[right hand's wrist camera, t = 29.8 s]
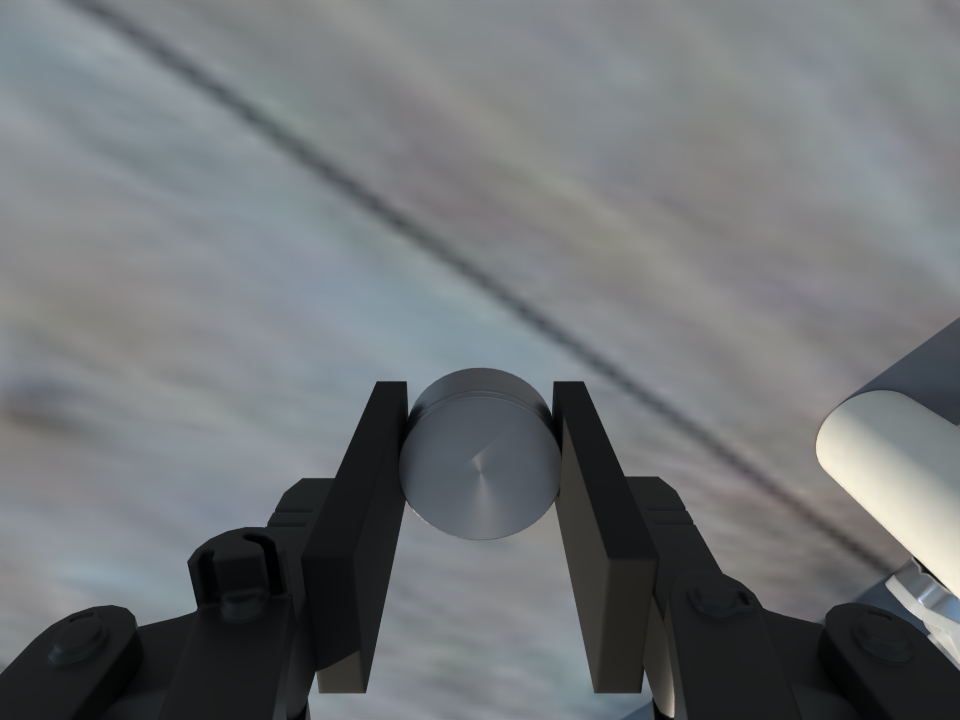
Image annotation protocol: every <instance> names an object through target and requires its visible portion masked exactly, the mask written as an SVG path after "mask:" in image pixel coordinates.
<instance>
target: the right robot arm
mask: <svg viewBox="0 0 960 720" xmlns="http://www.w3.org/2000/svg"><path fill="white" fill-rule="evenodd" d="M552 419H553V422H554V426H555V430H556V434H557V437H558V441H559V445H560V449H561V453H562V467H561V484H560V490H559V492H558V494H557V496H556V498H555V505H556V510H557V515H558V520H559V525H560V529H561V534H562V539H563V544H564V549H565V553H566V558H567V563H568V568H569V573H570V578H571V582H572V587H573V592H574V597H575V602H576V606H577V611H578V616H579V621H580V626H581V631H582V635H583V640H584V645H585V650H586V655H587V659H588V664H589V669H590V674H591V679H592V684H593V688H594V693H641V690H642V683H643V676H644V668H645V672H646V675H647V678H648V681H649V684H650V688H651V691H652V694H653V697H652V704H651V711H650V717H649V720H960V670H959V669H958V668H957V667H956V666H955V665H954V664H953V663H952V662H951V661H950V660H949V659H948V658H947V657H946V656H945V655H944V654H943V653H942V652H941V651H940V650H939V649H938V648H937V647H936V646H935V645H934V643H933V642H932V641H931V640H930V639H929V638H928V637H926V636H925V635H924V634H923V633H922V632H920V631H919V630H918V629H917V628H916V627H914V626H913V625H912V624H911V623H909V622H907V621H905V620H904V619H902V618H900V617H898V616H896V615H894V614H893V613H891V612H889V611H886V610H883V609H879V608H876V607H873V606H870V605H866V604H856V603H846V604H841V605H837V606H834V607H833V608H832V609H831V610H830V611H829V612H828V613H827V614H826V617H825V620H824V624H823V625H822V624H817V623H813V622H809V621H805V620H801V619H796V618H792V617H788V616H784V615H781V614H778V613H774V612H771V611H768V610H766V609H764V608H763V607H762V605H761V604H760V602H759V601H758V599H757V597H756V596H755V594H754V593H753V592H751V591H750V590H749V589H748V588H747V587H746V586H744V585H743V584H742V583H741V582H739V581H737V580H735V579H733V578H731V577H729V576H727V575H725V574H723V573H722V571H721V570H720V568H719V566H718V564H717V563H716V561H715V559H714V557H713V555H712V554H711V552H710V550H709V548H708V547H707V545H706V543H705V541H704V539H703V538H702V536H701V534H700V532H699V531H698V529H697V527H696V525H694V524H693V520H692V518H691V516H690V515H689V513H688V511H686V509H685V506H684V504H683V502H682V500H681V499H680V497H679V495H678V493H677V492H676V490H674V489H673V488H672V487H671V486H669V485H668V484H667V483H666V482H664V481H663V480H662V479H660V478H659V477H625V476H624V474H623V471H622V469H621V467H620V464H619V462H618V460H617V457H616V455H615V453H614V451H613V448H612V446H611V444H610V441H609V439H608V437H607V434H606V432H605V430H604V428H603V425H602V423H601V421H600V418H599V416H598V414H597V411H596V409H595V407H594V404H593V402H592V400H591V398H590V395H589V393H588V391H587V388H586V386H585V384H584V381H554V385H553V405H552ZM407 422H408V398H407V381H377V382H376V385H375V387H374V389H373V391H372V394H371V396H370V398H369V401H368V403H367V405H366V408H365V410H364V412H363V415H362V417H361V419H360V421H359V424H358V426H357V428H356V431H355V433H354V435H353V438H352V440H351V442H350V445H349V447H348V449H347V451H346V454H345V456H344V458H343V461H342V463H341V465H340V468H339V470H338V472H337V475H336V477H335V478H302V479H301V480H300V481H299V482H297V483H296V484H295V485H294V486H292V487H291V488H290V489H288V490H287V491H286V492H285V493H284V494H283V496H282V498H281V500H280V502H279V503H278V505H277V507H276V509H275V513H273V514H272V516H271V518H270V519H269V521H268V523H267V527H265V528H263V527H244V528H240V529H235V530H231V531H227V532H225V533H222V534H220V535H218V536H216V537H213V538H211V539H209V540H208V541H207V542H205V543H204V544H203V545H201V546H200V547H199V548H197V549H196V550H195V552H194V553H193V554H192V556H191V557H190V559H189V560H188V561H187V563H188V567H189V572H190V576H191V581H192V585H193V589H194V594H195V598H196V603H197V607H198V608H197V611H195V612H193V613H190V614H187V615H184V616H181V617H178V618H174V619H169V620H165V621H161V622H157V623H153V624H149V625H144V626H140V627H138V626H137V622H136V619H135V616H134V615H133V614H132V613H131V612H130V611H129V610H128V609H127V608H123V607H119V606H114V605H108V606H98V607H92V608H89V609H86V610H83V611H80V612H77V613H74V614H71V615H69V616H67V617H66V618H64V619H62V620H60V621H58V622H56V623H55V624H53V625H51V626H50V627H49V628H47V629H46V630H45V631H44V632H43V633H41V634H40V635H39V636H38V637H37V638H35V639H34V640H33V641H32V642H31V643H30V644H29V645H28V646H27V647H26V648H25V649H24V650H23V652H22V653H21V654H20V655H19V656H18V657H17V658H16V659H15V660H14V661H13V662H12V663H11V664H10V665H9V666H8V667H7V668H6V669H5V670H4V671H3V672H2V673H1V674H0V720H311V719H310V711H309V704H308V695H309V692H310V689H311V685H312V682H313V679H314V676H315V672H316V673H317V680H318V687H319V693H366V690H367V685H368V680H369V676H370V671H371V666H372V661H373V656H374V652H375V647H376V642H377V637H378V632H379V627H380V623H381V618H382V613H383V608H384V603H385V599H386V594H387V589H388V584H389V579H390V574H391V570H392V565H393V560H394V555H395V550H396V546H397V541H398V536H399V531H400V526H401V521H402V517H403V512H404V507H405V502H406V499H405V497H404V495H403V492H402V490H401V487H400V478H399V453H400V448H401V445H402V441H403V437H404V433H405V429H406V425H407Z"/></svg>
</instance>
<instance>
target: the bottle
mask: <svg viewBox="0 0 960 720" xmlns="http://www.w3.org/2000/svg"><path fill="white" fill-rule="evenodd" d="M816 452H817V457H818V460H819V462H820V464H821V466H822V467H823V468H824V470H825V471H826V472H827V473H828V474H830V475H831V476H832V477H833V478H834V479H835V480H836V481H837V482H838V483H839V484H840V485H841V486H842V487H843V488H844V489H845V490H846V491H847V492H848V493H849V494H850V495H851V496H852V497H853V498H854V499H856V500H857V501H858V502H859V503H860V504H861V505H862V506H863V507H864V508H865V509H866V510H867V511H868V512H869V513H870V514H871V515H872V516H873V517H874V518H875V519H876V520H877V521H878V522H879V523H881V524H882V525H883V526H884V527H885V528H886V529H887V530H888V531H889V532H890V533H891V534H892V535H893V536H894V537H895V538H896V539H897V540H898V541H899V542H900V543H901V544H902V545H903V546H904V547H906V548H907V549H908V550H909V551H910V552H911V553H912V554H913V555H914V556H915V557H916V558H917V559H918V560H919V561H920V562H921V563H922V564H923V565H924V566H925V567H926V568H927V569H928V570H929V571H930V572H932V573H933V574H934V575H935V576H936V577H937V578H938V579H939V580H940V581H941V582H942V583H943V584H944V585H945V586H946V587H947V588H948V589H949V590H950V591H951V592H952V593H953V594H954V595H955V596H957V597H958V598H959V599H960V428H959V427H957V426H956V425H954V424H952V423H951V422H949V421H947V420H946V419H944V418H942V417H941V416H939V415H937V414H936V413H934V412H933V411H931V410H929V409H928V408H926V407H924V406H923V405H921V404H919V403H918V402H916V401H914V400H913V399H911V398H909V397H908V396H906V395H904V394H901V393H899V392H895V391H888V390H877V391H870V392H866V393H862V394H859V395H857V396H854V397H852V398H851V399H849V400H847V401H845V402H844V403H842V404H841V405H840V406H838V407H837V408H836V409H835V410H834V411H833V412H832V413H831V414H830V415H829V416H828V417H827V419H826V420H825V422H824V423H823V425H822V427H821V429H820V431H819V434H818V437H817V442H816Z"/></svg>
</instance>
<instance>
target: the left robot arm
mask: <svg viewBox="0 0 960 720" xmlns="http://www.w3.org/2000/svg"><path fill="white" fill-rule="evenodd" d="M885 585H886V586H887V588H888V589H889V590H890V591H891V592H892V593H893V594H894V596H895V597H896V598H897V599H898V600H899V601H900V602H901V603H902V604H903V605H904V606H905V608H906V609H908V610H909V611H910V612H911V613H913V614H914V615H915V616H916V617H918V618H919V619H921V620H923V622H924V625H925V627H926V628H927V629H928V630H929V631H930V632H931V633H930V634H929V635H928V636H927V637H928V638H929V639H930V640H931V641H932V642H933V643H934V645H935V646H936V647H937V648H938V649H939V650H940V651H941V652H942V653H943V654H944V655H945V656H946V657H947V658H948V659H949V660H950V661H951V662H952V663H953V664H954V665H955V666H956V667H957V668H958V669H959V670H960V599H959V598H958V597H957V596H955V595H954V594H953V593H952V592H951V591H950V590H949V589H948V588H947V587H946V586H945V585H944V584H943V583H942V582H941V581H940V580H939V579H938V578H937V577H936V576H935V575H934V574H933V573H932V572H930V571H929V570H928V569H927V568H926V567H925V566H924V565H923V564H922V563H921V562H920V561H919V560H918V559H917V558H916V557H911V558H910V559H909V560H908V561H907V562H906V563H905V564H904V565H903V566H902V567H901V568H900V569H899V570H898V571H897V572H896V573H895V574H894V575H893V576H892V577H891V578H890V579H889V580H888V581H886V583H885Z"/></svg>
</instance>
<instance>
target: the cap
mask: <svg viewBox="0 0 960 720" xmlns="http://www.w3.org/2000/svg"><path fill="white" fill-rule="evenodd" d="M561 467H562V453H561V449H560V445H559V441H558V437H557V434H556V430H555V426H554V422H553V419H552V415H551V412H550V410H549V408H548V406H547V404H546V402H545V401H544V399H543V398H542V396H541V395H540V394H539V393H538V392H537V391H536V390H535V389H534V388H533V387H532V386H531V385H530V384H528V383H527V382H525V381H524V380H522V379H521V378H519V377H517V376H515V375H513V374H510V373H507V372H505V371H501V370H496V369H490V368H470V369H464V370H460V371H456V372H453V373H451V374H448V375H446V376H444V377H442V378H440V379H439V380H437V381H435V382H434V383H433V384H431V385H430V386H429V387H428V388H427V389H426V390H425V391H424V392H423V393H422V394H421V395H420V396H419V398H418V399H417V400H416V402H415V404H414V406H413V408H412V409H411V412H410V415H409V418H408V422H407V425H406V429H405V433H404V437H403V441H402V445H401V448H400V453H399V478H400V487H401V490H402V492H403V495H404V497H405V499H406V500H407V502H408V504H409V505H410V507H411V508H412V509H413V510H414V512H415V513H416V514H417V515H418V516H419V517H420V518H421V519H422V520H424V521H425V522H426V523H428V524H429V525H430V526H432V527H434V528H436V529H437V530H439V531H441V532H444V533H446V534H448V535H452V536H455V537H458V538H464V539H470V540H491V539H498V538H502V537H506V536H510V535H512V534H515V533H518V532H520V531H522V530H524V529H525V528H527V527H529V526H530V525H532V524H533V523H535V522H536V521H537V520H538V519H539V518H541V517H542V516H543V515H544V514H545V513H546V511H547V510H548V509H549V508H550V506H551V505H552V503H553V502H554V500H555V498H556V496H557V494H558V492H559V490H560V484H561Z"/></svg>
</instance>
